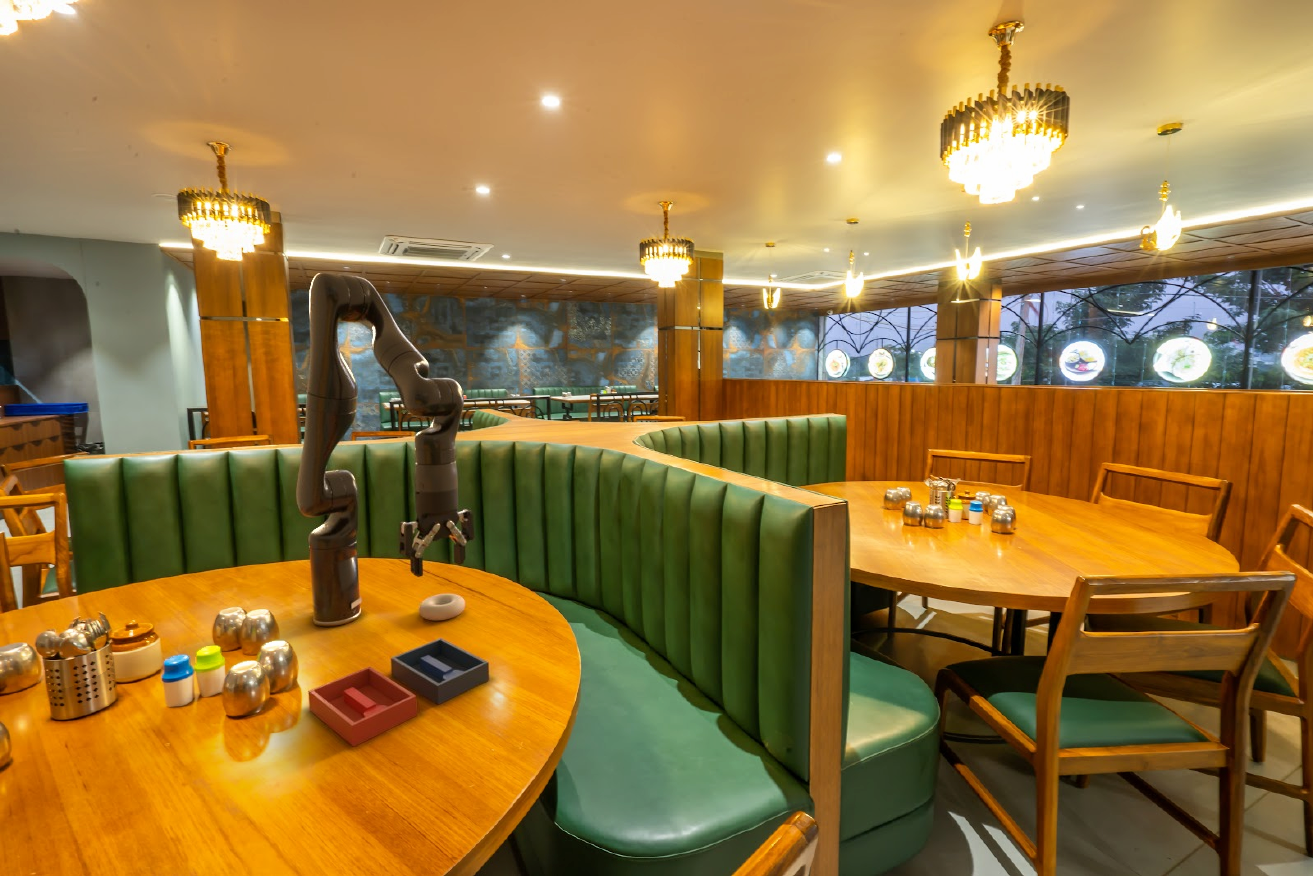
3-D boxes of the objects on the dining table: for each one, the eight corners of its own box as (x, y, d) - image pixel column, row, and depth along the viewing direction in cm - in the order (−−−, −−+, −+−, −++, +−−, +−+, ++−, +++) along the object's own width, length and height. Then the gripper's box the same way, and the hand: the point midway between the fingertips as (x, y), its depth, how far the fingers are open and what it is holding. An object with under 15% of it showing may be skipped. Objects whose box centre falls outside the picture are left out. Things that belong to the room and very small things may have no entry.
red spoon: (337, 704, 98) (336, 693, 98) (359, 695, 101) (358, 684, 101) (371, 730, 92) (370, 718, 91) (393, 719, 94) (393, 708, 94)
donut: (409, 621, 131) (450, 625, 129) (408, 606, 131) (450, 609, 129) (435, 604, 141) (473, 606, 139) (434, 590, 141) (473, 592, 139)
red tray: (309, 710, 98) (308, 690, 97) (370, 684, 106) (369, 666, 105) (353, 747, 88) (352, 725, 88) (417, 715, 96) (416, 696, 96)
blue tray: (391, 675, 109) (390, 658, 108) (441, 654, 117) (441, 638, 116) (438, 705, 99) (437, 686, 99) (489, 680, 107) (488, 662, 107)
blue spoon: (415, 670, 110) (415, 660, 109) (433, 662, 112) (432, 652, 112) (450, 691, 103) (450, 680, 102) (468, 682, 106) (468, 672, 105)
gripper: (458, 477, 118) (460, 556, 120) (389, 488, 107) (392, 575, 109) (481, 482, 114) (482, 564, 116) (411, 495, 102) (414, 585, 105)
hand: (439, 569), depth 112 cm, fingers open, 8 cm apart
